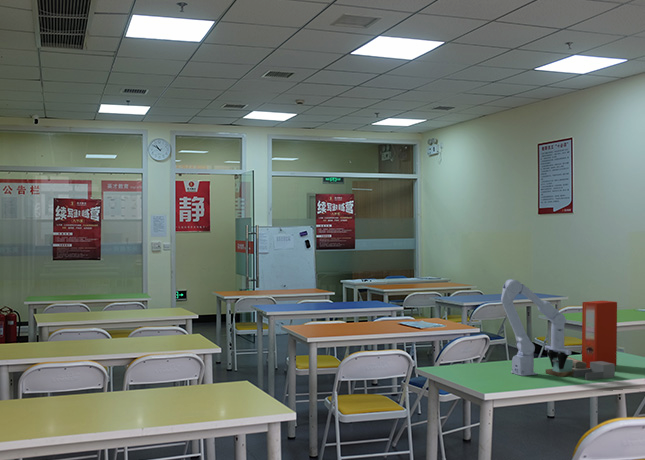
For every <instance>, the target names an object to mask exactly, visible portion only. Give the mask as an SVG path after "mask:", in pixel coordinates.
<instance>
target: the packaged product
mask: <svg viewBox="0 0 645 460" xmlns="http://www.w3.org/2000/svg"><path fill="white" fill-rule="evenodd" d="M557 358H558V357H557ZM567 359H571V360H573V366H572V369H575V370H581V369H590V368H586V365H587V364H586V363H585V362H582V360H579V359H575V358H572V357H570V356H568V358H567Z"/></svg>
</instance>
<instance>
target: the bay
mask: <svg viewBox="0 0 645 460" xmlns="http://www.w3.org/2000/svg"><path fill="white" fill-rule="evenodd" d="M615 368H616V366H615V364H613V363H608V362H603V361H597V362H590V368H589V369H581V370H573V375H572V377H573V378H580V377H584V380H585V381H589V380H590V381H592V380H601V379H610V378H615V375H616V374H615V373H616V372H615V371H616V369H615Z"/></svg>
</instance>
